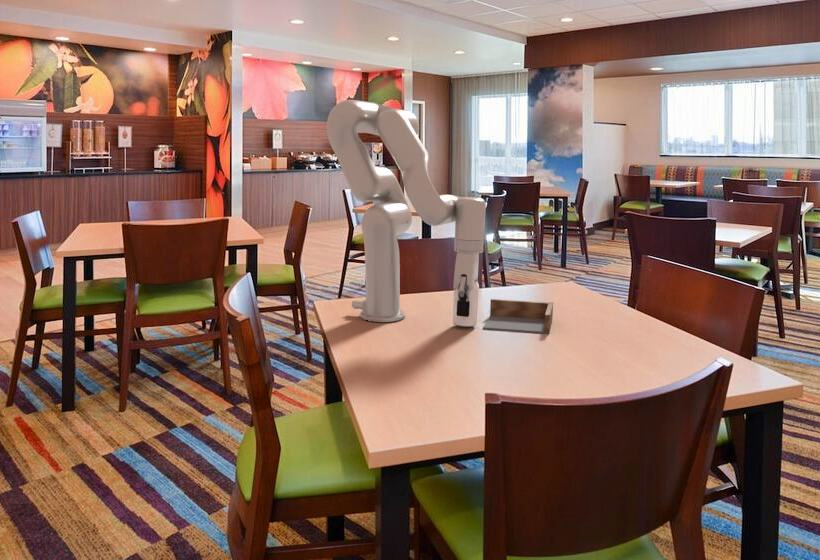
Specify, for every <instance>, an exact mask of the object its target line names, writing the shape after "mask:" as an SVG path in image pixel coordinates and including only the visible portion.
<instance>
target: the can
mask: <svg viewBox="0 0 820 560" xmlns="http://www.w3.org/2000/svg"><path fill="white" fill-rule="evenodd" d="M478 281H479V279H477V280H476V281H475V283H474V286H473V289H472V290H471V291H470V294H469V301H470V307H469V316H468V317H464V316H457V300H458V292H459V286H458V288H457V289H456V290H455V289H454V288H453V306H452V307H453V308H452V323H453V325H455V326H458V327H463V328H470V327H475V326H477V323H478V315H479V313H478V311H479V299H480V298H479V297H480V296H479V295H480V293H479V292H480V285H479V282H478ZM465 289H468V287H465ZM465 293H466V294H467V292H465ZM466 296H467V295H466Z"/></svg>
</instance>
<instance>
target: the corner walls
mask: <svg viewBox="0 0 820 560" xmlns="http://www.w3.org/2000/svg"><path fill="white" fill-rule="evenodd" d="M489 304H490V311H489V317H490V316H504V317H519V318H534V319H545V331H544V332H545V333H546V332H549V331H550V332H551V328H552V323H553V313H554V312H553V311H554V302H546V301H532V300H514V299H498V298H491V299H490V303H489ZM547 335H549V334H548V333H547Z"/></svg>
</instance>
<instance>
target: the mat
mask: <svg viewBox="0 0 820 560" xmlns="http://www.w3.org/2000/svg"><path fill="white" fill-rule="evenodd" d="M482 329H483V330H487V331H490V330H491V331H503V332H516V333H517V332H519V333H533V334H547V333H548V334H547V335H550V332H551V330H550V331H549V332H546V333H545V332H544V331H545V319H534V318H519V317H504V316H490V315H489V317H488V319H487V320H486V322H485V323H484V325H483V327H482Z"/></svg>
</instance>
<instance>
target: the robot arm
mask: <svg viewBox="0 0 820 560" xmlns="http://www.w3.org/2000/svg"><path fill="white" fill-rule="evenodd" d="M419 123H420V122H419V120H418V118H417V116H416V115H415V114H414V113H413V112H411V111H410V110H406V109H401V108H395V107H391V106H388V105H383V104H379V103H377V102H373V101H364V100H358V99H357V100H356V99H346V100H341V101H339V102H338V103H336V105H335V106H333V108H332V109H331V110H330V112H329V114H328V116H327V121H326V134H327V140H328V141H329V142H328V143H329V144H330V146H331V149H332V150H333V152H334V155H335V156H336V159H337V161H338V163H339V165H340V168H341V171H342V173H343V175H344V177H345V180H346V181H347V184H348V186H349V188H350V191H351V193H352V195H353V197H354V198H355V199H356V200H358V201H360V202H362V203H368V202H370V203H371V202H372V203H373V204H372V205H371V206H369V208H367V209H366V210H365V211H364V213H363V215H362V217H361V233H362V237H363V245H364V265H365V266H364V267H365V268H364V270H365V271H364V272H365V273H364V274H365V275H364V276H365V299H364V300H363V301H362V300H361V301H360V300H352V302H351V307H352V308H353V309H355V310H358V309H359V310H361V311H360V314H359V317H360V319H362V320H364V321H366V320H368V321H367V322H372V321H373V323H390V322H391V323H392V322H397V321H398V322H399V321H400V320H403V319H405V318H406V312H405V311H404V310H403V309H401V308H400V304H401V303H400V300H401V299H400V296H401V295H400V294H401V292H400V290H401V289H400V287H401V285H400V282H401V281H400V278H401V277H400V275H401V272H400V268H401V264H400V262H401V259H400V256H401V255H400V248H399V242H398V237H397V236H399V235H402V234H404V233H406V232H407V231H408V230H409V229H410V227H411V226H412V222H413V217H412V216H413V214H412V211H411V208H410V205H409V203H408V201H409V202H410V204H411V205H412V207H413V209H414V210H415V212H416V213H417V215H418V217H419V218H420V219H421V220H422V221H423V222H424V223H425V224H427V225H429V226H430V227H438V226H442V225H445V224H451V223H454V224H455V225H454V226H455V228H454V244H453V246H454V247H453V249H454V250H453V251H454V252H456V257H455V265H454V274H453V284H452V285H453V286H452V288H453V290H454V289H455V290H456V289H457V288H458V286H459V292H458V300H457V316H464V317H468V316H469V307H470V301H469V294H470V291H471V290H472V289H473V286H474V283H475V281H476V280H479V279H478V277H479V264H480V263H479V262H480V261H479V260H480V259H479V256H480V255H479V254H482V253H484V241H485V240H484V239H485V225H486V208H487V207H486V206H487V205H486V204H487V203H486V201H485V199H483V198H482V197H474V196H473V197H472V196H465V197H463V196H458V195H455V194H454V195H453V194H439V193H438V191H437V190H436V188H435V186H434V185H433V183H432V181H431V179H430V175H429V173H428V165H429V161H430V154H429V152H428V150H427V149H426V147H425V146H424V144H423V142H422V141H421V139H420V138H419V136H418V134H419V131H420V124H419ZM358 133H359V134H364V133H365V134H370V135H375V136H378V137H380V139H381V141H382V142H383V144H384V146H385V147H386V149H387V151H388V152H389V154H390V155H391V157H392V158H393V160H394V162H395V164H396V166H397V167H398V169H399V171H400V172H401V179H402V183H403V187H404V190H405V193H406V196H407V198H408V201H407V199H406V197H405V194H404V192H403V190H402V187H401V186H400V183H399V181H398V179H397V176H395V174H394V173H393V172H392V171H391V170H390V169H388V168H387V167H385V166H378V165H375V163H374V162H373V161H374V160H373V159H372V158H371V155H370V151H369V150H368V148H367V146H366V145H365V143H364V142H363V141H362V139H361V138H360V137H359V134H358ZM465 287H468V289H465ZM465 292H467V294H466V293H465ZM466 295H467V296H466Z"/></svg>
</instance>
